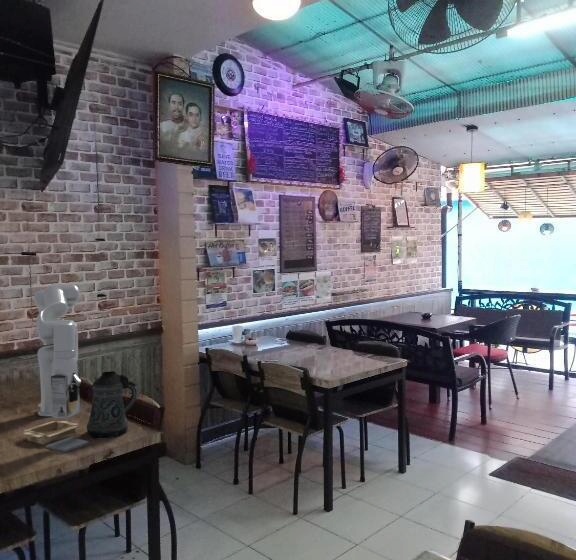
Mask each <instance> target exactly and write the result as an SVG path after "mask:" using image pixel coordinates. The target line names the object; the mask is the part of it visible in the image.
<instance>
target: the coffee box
mask: <svg viewBox="0 0 576 560" xmlns="http://www.w3.org/2000/svg"><path fill="white" fill-rule="evenodd" d="M78 378H79V379H80V372H79V371H78ZM71 383H73V381H72V382H71ZM72 387H74V386H73V385H72ZM51 389H52V414H53V416H52V418H53V419H69V418H71V417H72V416H75V415H77V414H79V413H81V397H80V396H81V395H80V394H81V393H80V390H81V389H80V387H79V388H78V390H77V401H74V402H70V400H69V392H71V391H70V389H69V385H68V386H67V377H66V376H60V375H54V376H51Z"/></svg>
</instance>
